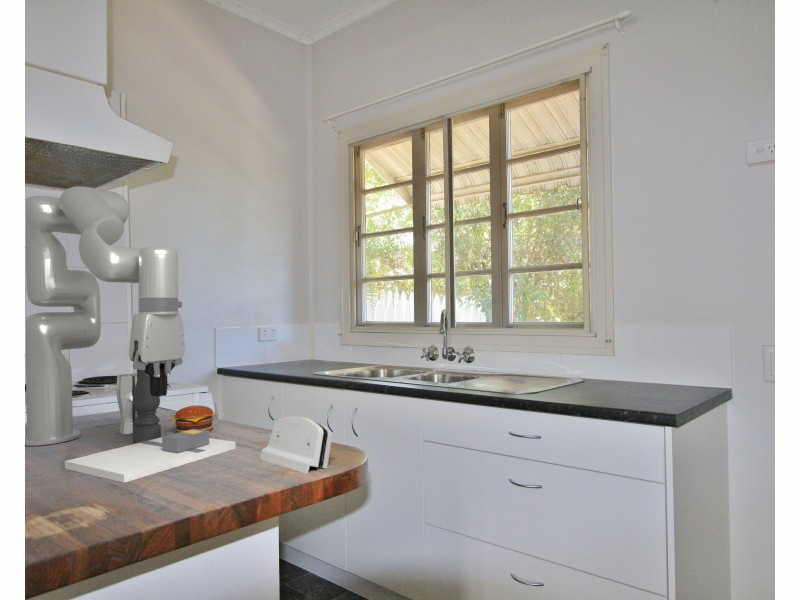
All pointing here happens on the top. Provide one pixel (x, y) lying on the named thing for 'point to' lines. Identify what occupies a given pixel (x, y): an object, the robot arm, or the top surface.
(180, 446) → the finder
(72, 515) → the top surface
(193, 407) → the hamburger
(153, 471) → the white rectangular board
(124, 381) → the beer glass
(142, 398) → the candle holder
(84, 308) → the robot arm
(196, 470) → the top surface
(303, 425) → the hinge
